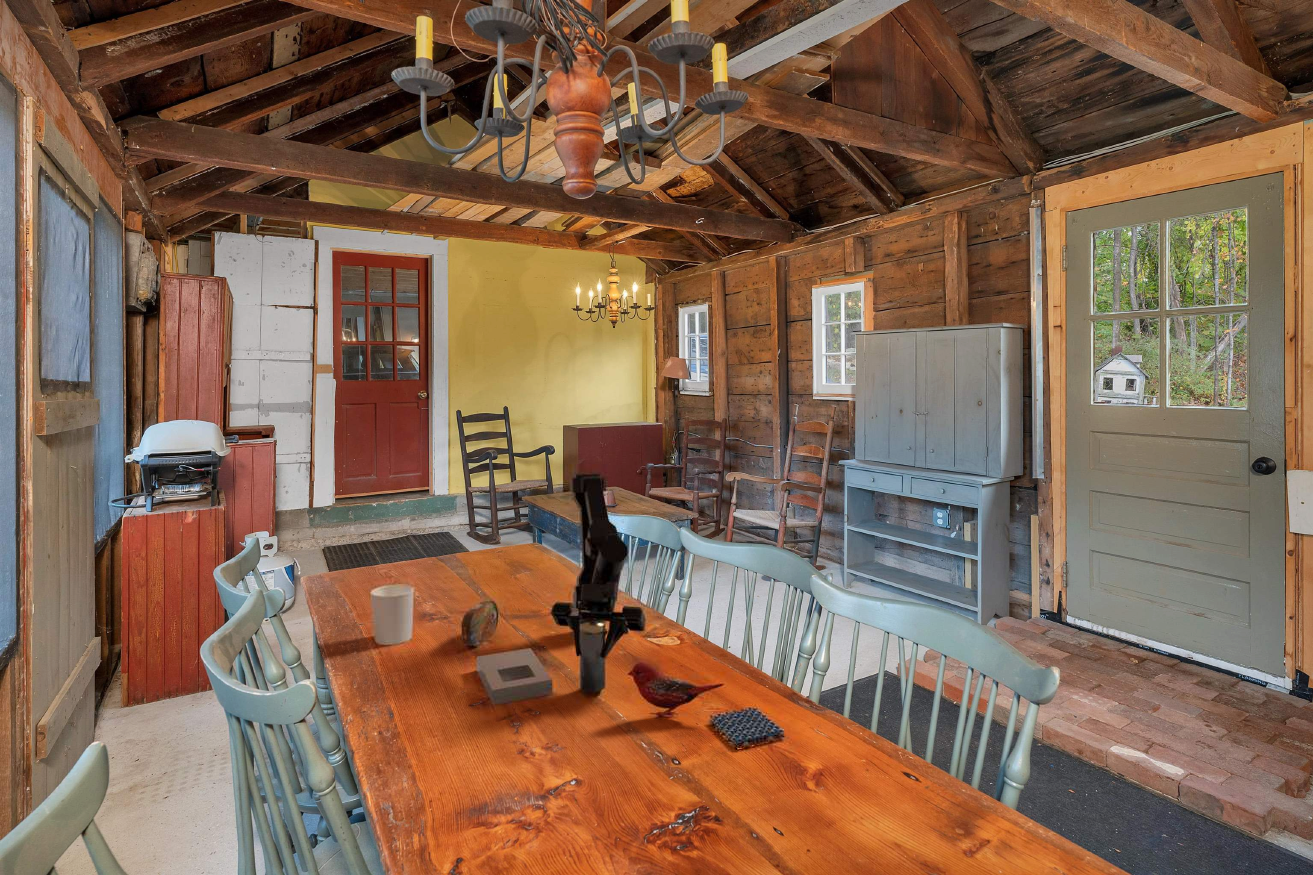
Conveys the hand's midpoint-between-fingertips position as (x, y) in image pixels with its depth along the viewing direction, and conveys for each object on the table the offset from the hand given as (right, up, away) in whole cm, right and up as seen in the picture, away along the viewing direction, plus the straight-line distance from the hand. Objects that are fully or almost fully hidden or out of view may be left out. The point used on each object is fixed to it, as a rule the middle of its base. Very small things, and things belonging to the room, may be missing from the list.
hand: (590, 656), depth 133 cm
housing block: (-17, -7, +6) cm, 19 cm away
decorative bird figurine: (+16, -8, -8) cm, 20 cm away
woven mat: (+29, -9, -14) cm, 33 cm away
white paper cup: (-50, -6, +30) cm, 59 cm away
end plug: (0, -6, +2) cm, 7 cm away
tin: (-29, -6, +30) cm, 42 cm away
